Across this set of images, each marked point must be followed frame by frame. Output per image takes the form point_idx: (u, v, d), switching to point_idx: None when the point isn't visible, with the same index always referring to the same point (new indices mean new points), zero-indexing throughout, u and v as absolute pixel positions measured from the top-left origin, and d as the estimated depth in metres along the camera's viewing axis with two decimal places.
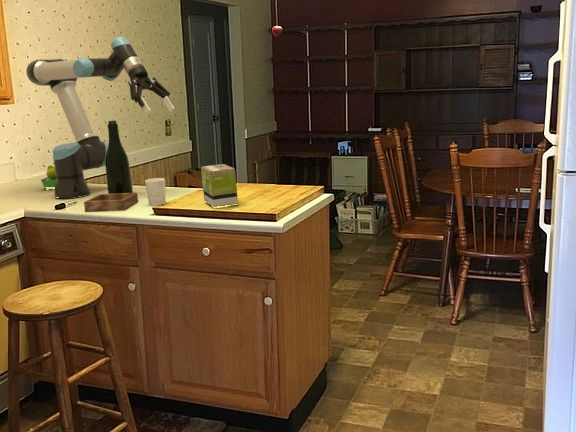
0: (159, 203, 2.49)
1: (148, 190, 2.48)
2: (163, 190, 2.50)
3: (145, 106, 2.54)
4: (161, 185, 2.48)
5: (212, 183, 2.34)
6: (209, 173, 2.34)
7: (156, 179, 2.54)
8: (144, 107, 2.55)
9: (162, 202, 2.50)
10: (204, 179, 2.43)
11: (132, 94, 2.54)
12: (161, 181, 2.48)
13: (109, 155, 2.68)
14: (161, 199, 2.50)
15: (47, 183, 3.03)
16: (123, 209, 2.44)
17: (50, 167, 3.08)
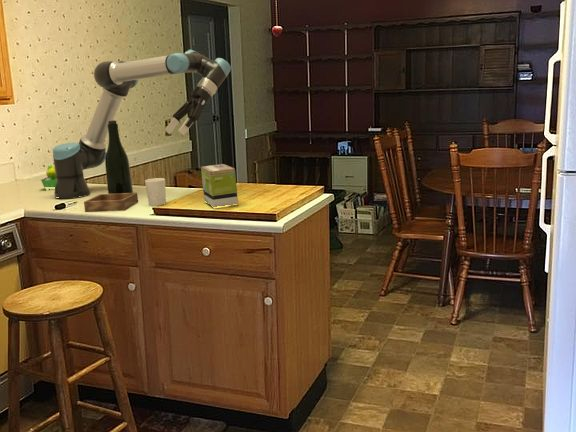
0: (159, 203, 2.49)
1: (148, 190, 2.48)
2: (163, 190, 2.50)
3: (186, 128, 2.47)
4: (161, 185, 2.48)
5: (212, 183, 2.34)
6: (209, 173, 2.34)
7: (156, 179, 2.54)
8: (185, 127, 2.47)
9: (162, 202, 2.50)
10: (204, 179, 2.43)
11: (197, 115, 2.46)
12: (161, 181, 2.48)
13: (109, 155, 2.68)
14: (161, 199, 2.50)
15: (47, 183, 3.03)
16: (123, 209, 2.44)
17: (50, 167, 3.08)
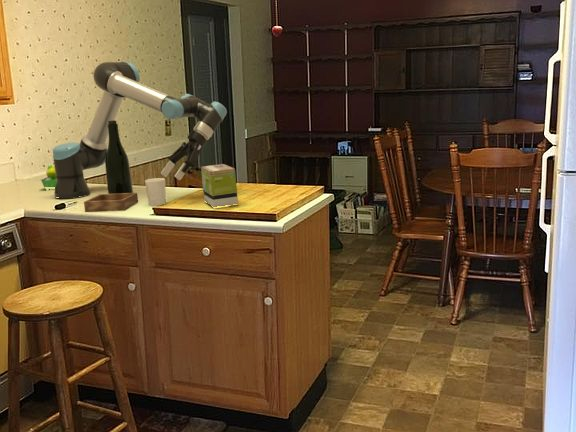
0: (159, 203, 2.49)
1: (148, 190, 2.48)
2: (163, 190, 2.50)
3: (182, 174, 2.48)
4: (161, 185, 2.48)
5: (212, 183, 2.34)
6: (209, 173, 2.34)
7: (156, 179, 2.54)
8: (181, 173, 2.47)
9: (162, 202, 2.50)
10: (204, 179, 2.43)
11: (193, 160, 2.47)
12: (161, 181, 2.48)
13: (109, 155, 2.68)
14: (161, 199, 2.50)
15: (47, 183, 3.03)
16: (123, 209, 2.44)
17: (50, 167, 3.08)
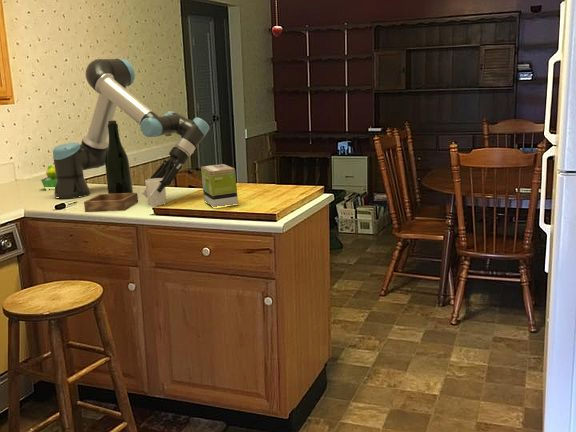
0: (159, 203, 2.49)
1: (148, 190, 2.48)
2: (163, 190, 2.50)
3: (157, 193, 2.47)
4: None
5: (212, 183, 2.34)
6: (209, 173, 2.34)
7: (156, 179, 2.54)
8: (156, 192, 2.47)
9: (162, 202, 2.50)
10: (204, 179, 2.43)
11: (169, 180, 2.46)
12: None
13: (109, 155, 2.68)
14: (161, 199, 2.50)
15: (47, 183, 3.03)
16: (123, 209, 2.44)
17: (50, 167, 3.08)
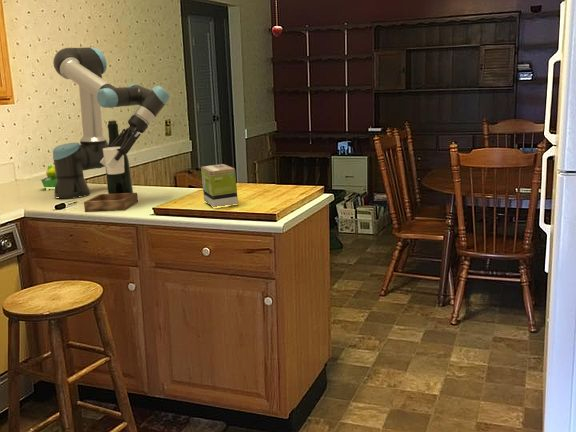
0: (117, 171, 2.46)
1: (106, 158, 2.45)
2: (121, 158, 2.46)
3: (115, 162, 2.44)
4: None
5: (212, 183, 2.34)
6: (209, 173, 2.34)
7: (115, 148, 2.51)
8: (114, 160, 2.44)
9: (120, 171, 2.47)
10: (204, 179, 2.43)
11: (127, 148, 2.43)
12: None
13: None
14: (119, 167, 2.47)
15: (47, 183, 3.03)
16: (123, 209, 2.44)
17: (50, 167, 3.08)
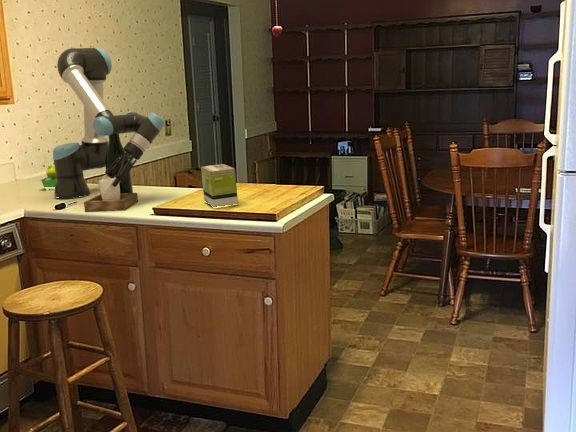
0: None
1: (102, 190, 2.48)
2: (117, 190, 2.49)
3: (113, 188, 2.46)
4: None
5: (212, 183, 2.34)
6: (209, 173, 2.34)
7: (111, 179, 2.53)
8: (111, 187, 2.45)
9: None
10: (204, 179, 2.43)
11: (124, 174, 2.45)
12: None
13: (109, 155, 2.68)
14: (115, 199, 2.49)
15: (47, 183, 3.03)
16: (123, 209, 2.44)
17: (50, 167, 3.08)
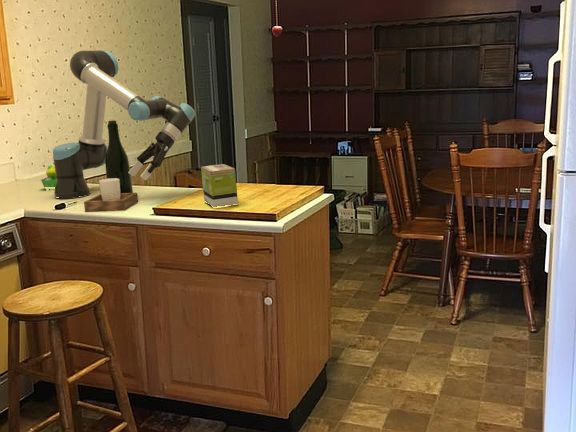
0: None
1: (102, 190, 2.48)
2: (117, 190, 2.49)
3: (148, 174, 2.51)
4: (115, 185, 2.48)
5: (212, 183, 2.34)
6: (209, 173, 2.34)
7: (111, 179, 2.54)
8: (147, 173, 2.51)
9: None
10: (204, 179, 2.43)
11: (159, 161, 2.50)
12: (115, 181, 2.48)
13: (109, 155, 2.68)
14: (116, 199, 2.49)
15: (47, 183, 3.03)
16: (123, 209, 2.44)
17: (50, 167, 3.08)
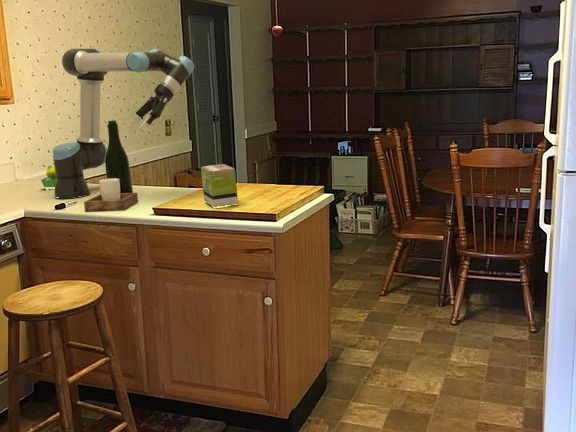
0: None
1: (102, 190, 2.48)
2: (117, 190, 2.49)
3: (147, 126, 2.48)
4: (115, 185, 2.48)
5: (212, 183, 2.34)
6: (209, 173, 2.34)
7: (111, 179, 2.54)
8: (146, 124, 2.48)
9: None
10: (204, 179, 2.43)
11: (158, 112, 2.48)
12: (115, 181, 2.48)
13: (109, 155, 2.68)
14: (116, 199, 2.49)
15: (47, 183, 3.03)
16: (123, 209, 2.44)
17: (50, 167, 3.08)
